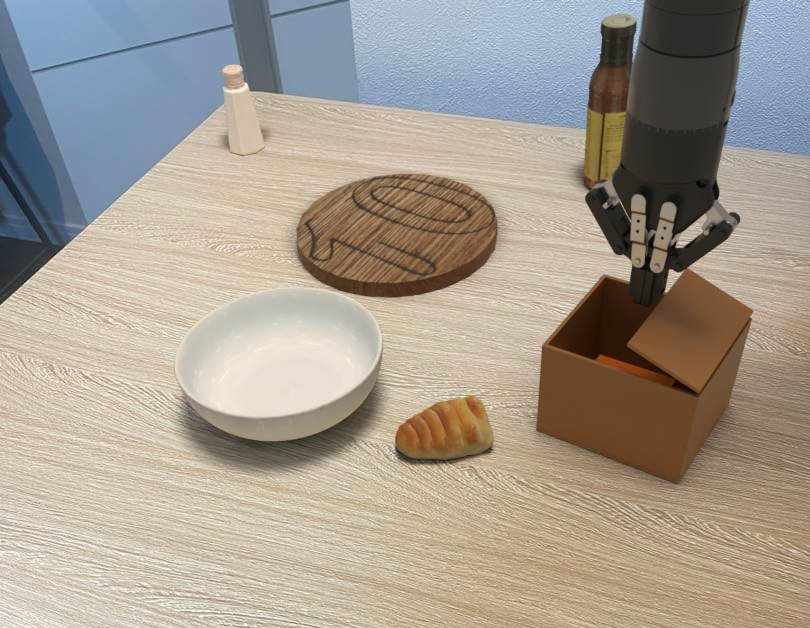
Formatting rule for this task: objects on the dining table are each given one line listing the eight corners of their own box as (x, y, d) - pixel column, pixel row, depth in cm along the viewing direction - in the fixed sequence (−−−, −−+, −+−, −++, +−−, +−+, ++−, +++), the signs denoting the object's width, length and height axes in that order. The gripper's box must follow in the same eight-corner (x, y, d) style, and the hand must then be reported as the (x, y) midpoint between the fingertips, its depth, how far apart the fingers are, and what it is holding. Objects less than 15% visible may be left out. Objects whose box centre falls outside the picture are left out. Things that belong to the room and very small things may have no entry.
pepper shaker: (224, 155, 132) (206, 76, 123) (234, 137, 135) (218, 59, 127) (260, 156, 131) (245, 76, 122) (270, 138, 134) (256, 59, 126)
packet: (670, 410, 91) (676, 379, 88) (650, 441, 88) (656, 409, 85) (596, 385, 94) (600, 354, 91) (574, 413, 91) (577, 382, 88)
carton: (728, 404, 91) (752, 317, 83) (677, 484, 85) (698, 398, 77) (593, 358, 97) (603, 273, 89) (536, 430, 91) (541, 345, 83)
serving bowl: (299, 314, 105) (290, 262, 100) (429, 393, 95) (426, 339, 90) (150, 404, 97) (131, 352, 91) (274, 502, 86) (261, 449, 81)
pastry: (408, 476, 88) (405, 447, 85) (386, 432, 92) (383, 402, 89) (499, 450, 89) (499, 421, 86) (474, 408, 93) (474, 379, 90)
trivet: (432, 319, 103) (431, 305, 102) (258, 263, 113) (255, 250, 111) (532, 213, 116) (532, 199, 115) (368, 171, 126) (367, 158, 125)
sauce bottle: (638, 177, 121) (661, 14, 106) (618, 199, 117) (639, 34, 102) (592, 166, 123) (608, 6, 108) (572, 188, 120) (585, 25, 105)
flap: (751, 313, 83) (754, 310, 83) (698, 393, 77) (700, 390, 76) (684, 270, 84) (686, 267, 84) (625, 346, 77) (628, 342, 77)
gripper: (574, 105, 68) (558, 301, 81) (749, 143, 63) (701, 346, 76) (617, 66, 72) (595, 259, 85) (784, 99, 67) (733, 299, 80)
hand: (645, 300), depth 81 cm, fingers closed
